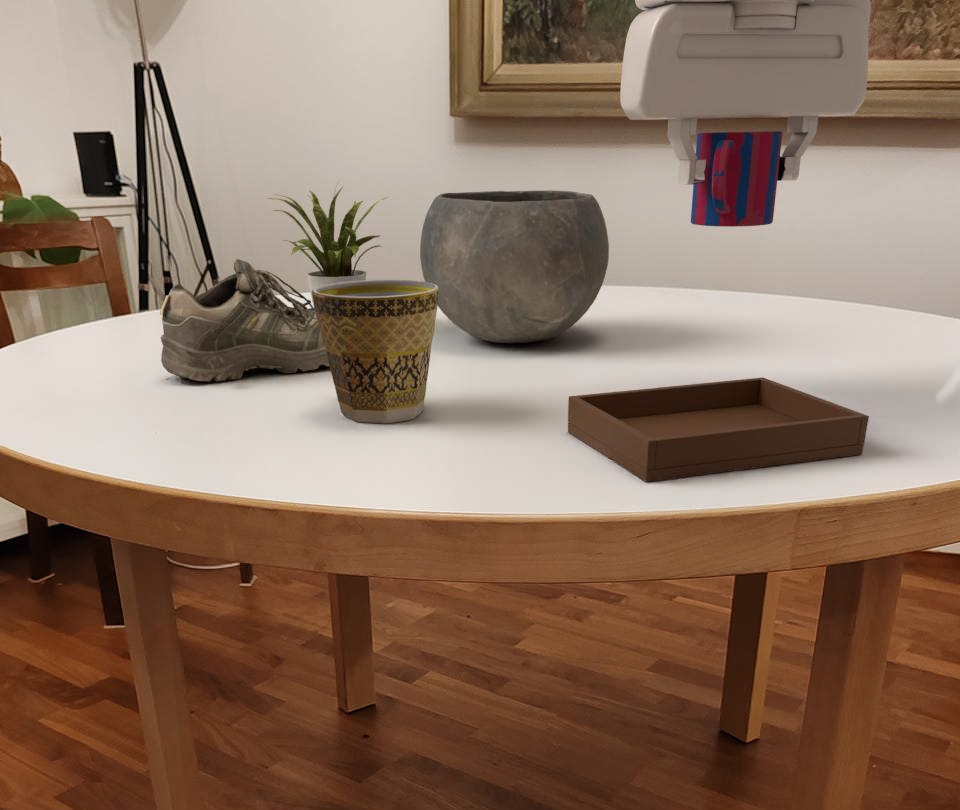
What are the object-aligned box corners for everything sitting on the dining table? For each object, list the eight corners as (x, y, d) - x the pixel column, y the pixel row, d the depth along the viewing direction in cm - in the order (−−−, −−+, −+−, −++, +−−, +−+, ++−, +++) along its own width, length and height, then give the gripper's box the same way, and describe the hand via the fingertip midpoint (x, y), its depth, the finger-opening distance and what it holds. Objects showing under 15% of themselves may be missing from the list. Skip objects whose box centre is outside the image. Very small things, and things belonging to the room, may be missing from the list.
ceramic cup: (464, 416, 81) (461, 289, 76) (354, 436, 76) (344, 301, 71) (391, 387, 91) (385, 272, 86) (290, 402, 86) (277, 282, 81)
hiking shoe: (391, 342, 98) (345, 227, 97) (192, 395, 89) (139, 268, 88) (360, 374, 106) (318, 268, 105) (175, 425, 97) (127, 310, 96)
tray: (758, 411, 81) (763, 377, 80) (862, 454, 70) (869, 415, 69) (567, 432, 76) (568, 396, 75) (645, 482, 65) (648, 440, 64)
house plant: (246, 334, 116) (228, 182, 108) (308, 315, 127) (295, 176, 120) (352, 341, 111) (341, 182, 103) (407, 321, 122) (400, 176, 115)
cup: (782, 221, 83) (792, 130, 80) (745, 231, 76) (755, 131, 73) (706, 219, 86) (713, 132, 83) (663, 229, 79) (669, 133, 76)
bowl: (397, 353, 104) (389, 199, 98) (456, 321, 122) (453, 188, 115) (585, 362, 99) (591, 199, 92) (619, 327, 117) (626, 188, 110)
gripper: (847, -13, 79) (823, 177, 85) (615, -19, 73) (608, 185, 80) (900, -25, 74) (870, 179, 80) (654, -31, 68) (643, 188, 74)
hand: (737, 182), depth 80 cm, fingers closed on cup, 7 cm apart
